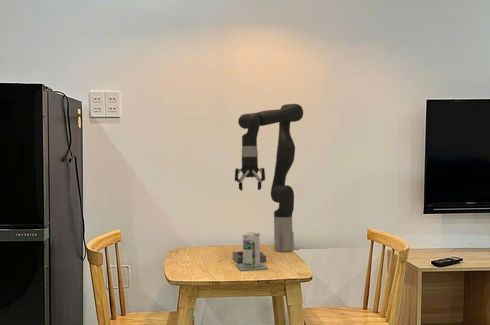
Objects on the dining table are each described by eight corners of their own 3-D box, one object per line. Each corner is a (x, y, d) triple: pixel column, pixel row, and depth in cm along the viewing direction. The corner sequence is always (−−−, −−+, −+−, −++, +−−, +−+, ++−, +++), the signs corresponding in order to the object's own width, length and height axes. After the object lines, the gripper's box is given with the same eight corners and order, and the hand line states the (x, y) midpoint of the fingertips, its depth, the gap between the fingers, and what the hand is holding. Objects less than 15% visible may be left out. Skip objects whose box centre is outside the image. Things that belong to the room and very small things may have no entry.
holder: (259, 256, 233) (259, 250, 233) (266, 262, 221) (266, 255, 221) (232, 258, 231) (232, 252, 231) (237, 264, 218) (237, 257, 218)
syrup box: (242, 266, 210) (242, 233, 210) (248, 264, 216) (248, 231, 216) (254, 268, 208) (253, 234, 208) (260, 265, 213) (259, 232, 213)
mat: (261, 263, 219) (261, 262, 219) (268, 269, 207) (268, 268, 207) (235, 265, 216) (235, 264, 216) (240, 271, 205) (240, 270, 205)
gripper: (262, 155, 236) (262, 189, 236) (233, 156, 233) (233, 190, 233) (266, 155, 228) (266, 190, 228) (236, 156, 225) (236, 191, 226)
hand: (250, 190), depth 231 cm, fingers open, 8 cm apart
